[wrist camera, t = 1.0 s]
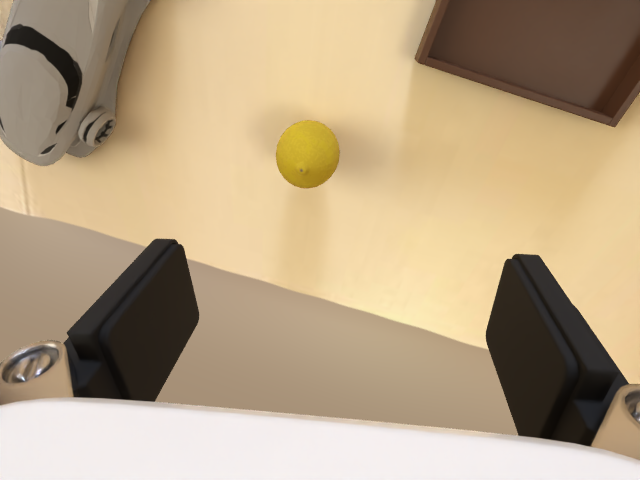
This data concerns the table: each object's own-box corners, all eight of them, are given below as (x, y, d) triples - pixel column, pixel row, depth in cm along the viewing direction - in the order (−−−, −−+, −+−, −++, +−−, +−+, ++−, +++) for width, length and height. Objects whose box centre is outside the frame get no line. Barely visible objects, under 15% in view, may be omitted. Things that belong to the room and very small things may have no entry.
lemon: (353, 132, 37) (349, 162, 30) (321, 177, 39) (312, 213, 33) (304, 99, 35) (288, 122, 29) (275, 147, 38) (255, 178, 31)
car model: (186, -49, 31) (157, -57, 26) (94, 178, 42) (63, 197, 38) (50, -158, 28) (-7, -187, 24) (-8, 115, 40) (-53, 128, 35)
